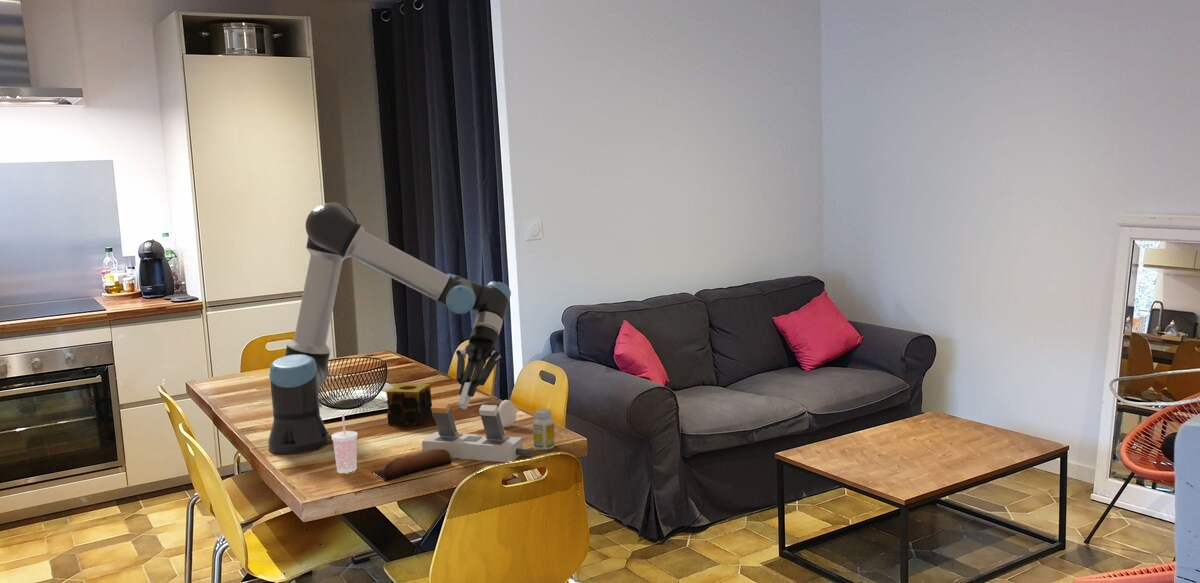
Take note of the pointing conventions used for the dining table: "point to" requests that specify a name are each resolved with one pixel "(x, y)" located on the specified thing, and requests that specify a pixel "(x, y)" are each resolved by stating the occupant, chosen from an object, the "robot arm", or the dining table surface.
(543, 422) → the supplement bottle
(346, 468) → the beverage cup
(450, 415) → the switch orange
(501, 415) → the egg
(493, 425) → the switch white
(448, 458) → the sunglasses case
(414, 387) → the candle
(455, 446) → the power strip
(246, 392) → the dining table surface
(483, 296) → the robot arm
